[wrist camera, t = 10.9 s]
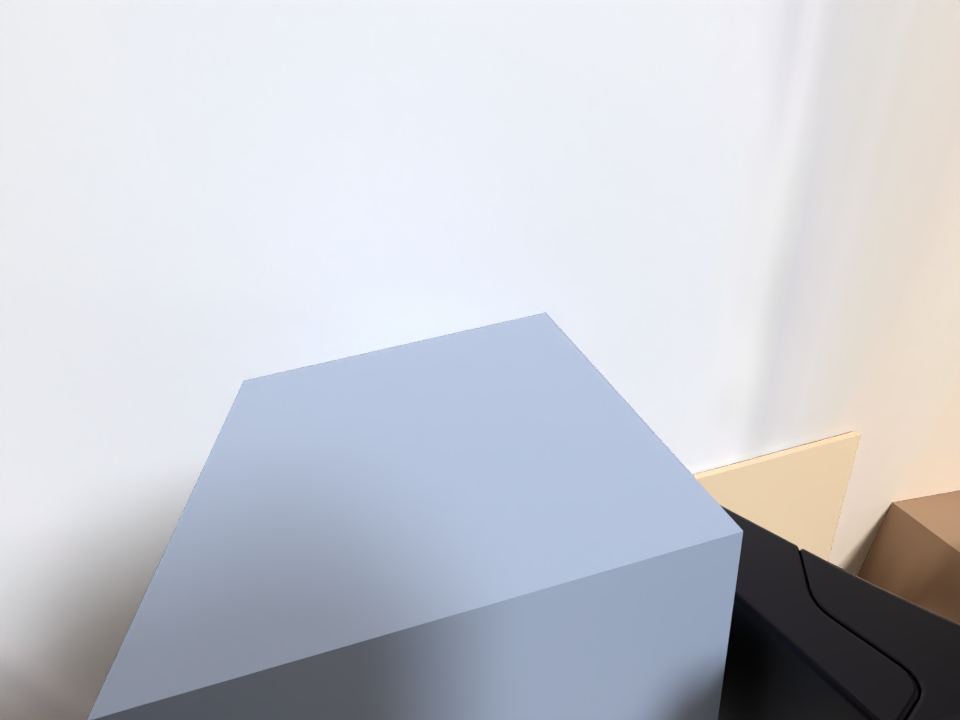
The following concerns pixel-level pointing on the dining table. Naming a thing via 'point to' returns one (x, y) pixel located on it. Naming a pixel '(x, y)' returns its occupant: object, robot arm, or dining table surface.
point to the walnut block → (920, 553)
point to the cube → (437, 550)
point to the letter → (790, 490)
